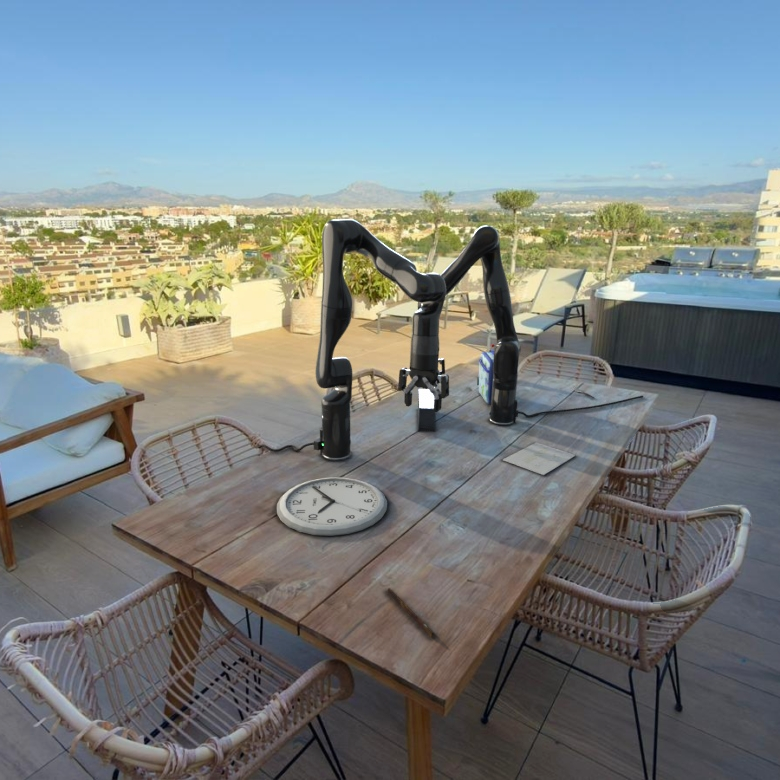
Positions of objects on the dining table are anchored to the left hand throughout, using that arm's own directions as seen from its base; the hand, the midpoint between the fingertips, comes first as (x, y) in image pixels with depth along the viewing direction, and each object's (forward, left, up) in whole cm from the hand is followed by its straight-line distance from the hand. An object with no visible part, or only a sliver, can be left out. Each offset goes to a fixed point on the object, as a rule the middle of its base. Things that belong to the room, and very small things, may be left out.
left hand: (422, 408), depth 143 cm
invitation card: (+21, +44, -26) cm, 55 cm away
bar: (-28, +53, -26) cm, 65 cm away
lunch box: (-17, +93, -26) cm, 98 cm away
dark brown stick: (+23, -44, -26) cm, 56 cm away
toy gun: (-34, +127, -26) cm, 134 cm away
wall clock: (-16, -20, -26) cm, 36 cm away
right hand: (-32, +59, -13) cm, 69 cm away
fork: (+15, +126, -26) cm, 129 cm away
